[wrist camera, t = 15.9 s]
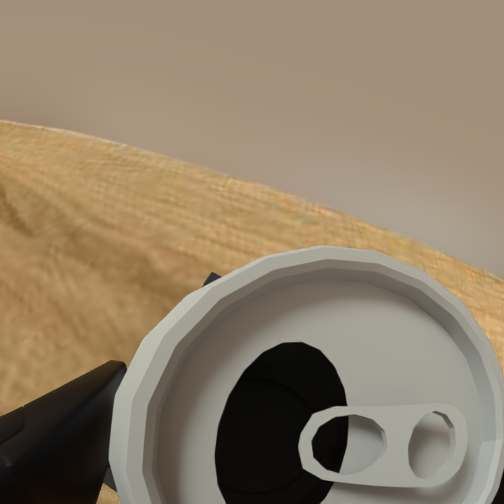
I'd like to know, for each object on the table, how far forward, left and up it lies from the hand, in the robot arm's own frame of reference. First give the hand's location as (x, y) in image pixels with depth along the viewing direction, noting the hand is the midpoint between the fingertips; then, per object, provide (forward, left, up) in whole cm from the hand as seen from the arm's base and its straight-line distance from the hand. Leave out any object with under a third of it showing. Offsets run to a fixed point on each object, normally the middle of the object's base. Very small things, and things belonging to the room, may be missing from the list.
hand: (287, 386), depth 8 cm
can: (-1, -1, -7) cm, 7 cm away
